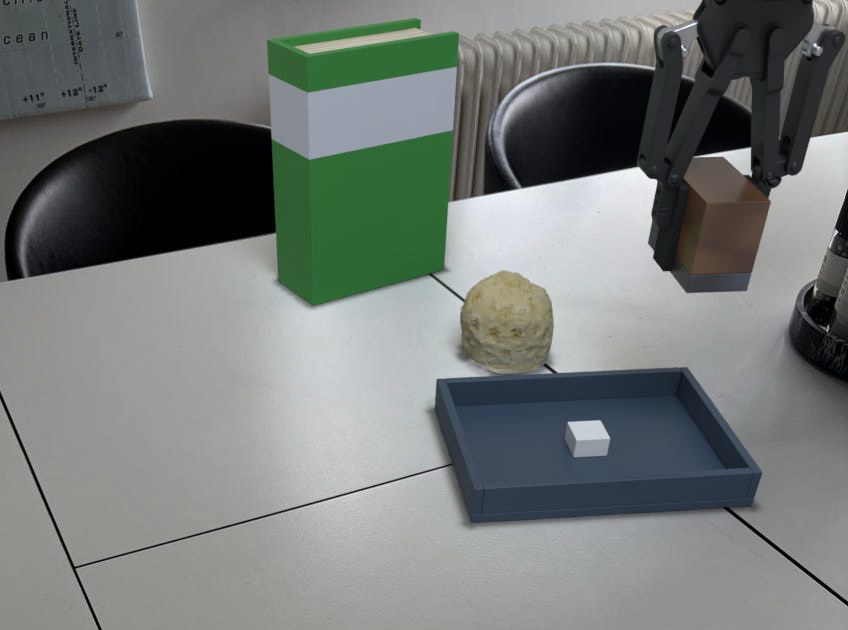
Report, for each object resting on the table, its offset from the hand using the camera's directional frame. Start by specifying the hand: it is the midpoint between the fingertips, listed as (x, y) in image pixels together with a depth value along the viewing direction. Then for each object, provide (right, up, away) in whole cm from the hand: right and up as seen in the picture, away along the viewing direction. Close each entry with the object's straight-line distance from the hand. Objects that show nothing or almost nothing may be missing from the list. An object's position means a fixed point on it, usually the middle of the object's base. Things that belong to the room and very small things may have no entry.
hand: (696, 262), depth 85 cm
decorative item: (-13, -2, +19) cm, 23 cm away
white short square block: (-8, -14, +5) cm, 17 cm away
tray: (-8, -15, +5) cm, 18 cm away
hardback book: (-28, +10, +33) cm, 44 cm away
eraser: (0, 0, 0) cm, 0 cm away
